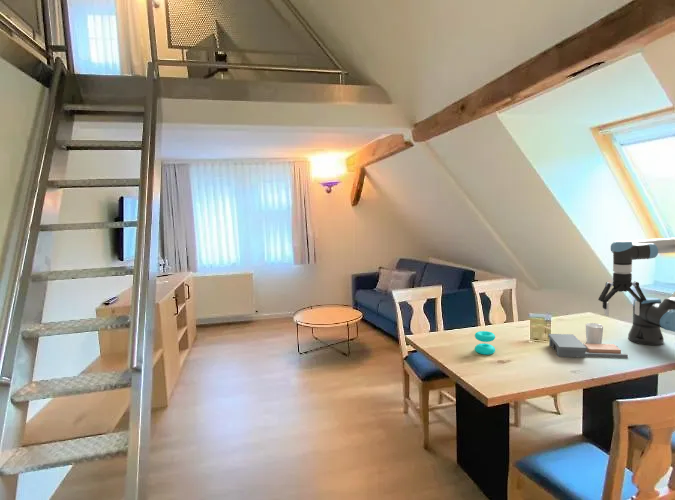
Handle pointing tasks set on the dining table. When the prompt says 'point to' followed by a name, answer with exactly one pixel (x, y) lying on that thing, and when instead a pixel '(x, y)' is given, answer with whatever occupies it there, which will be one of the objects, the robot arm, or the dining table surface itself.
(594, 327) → the white cup
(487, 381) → the dining table surface
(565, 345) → the overhang dock
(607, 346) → the salmon pink tile
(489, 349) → the donuts
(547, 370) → the dining table surface
